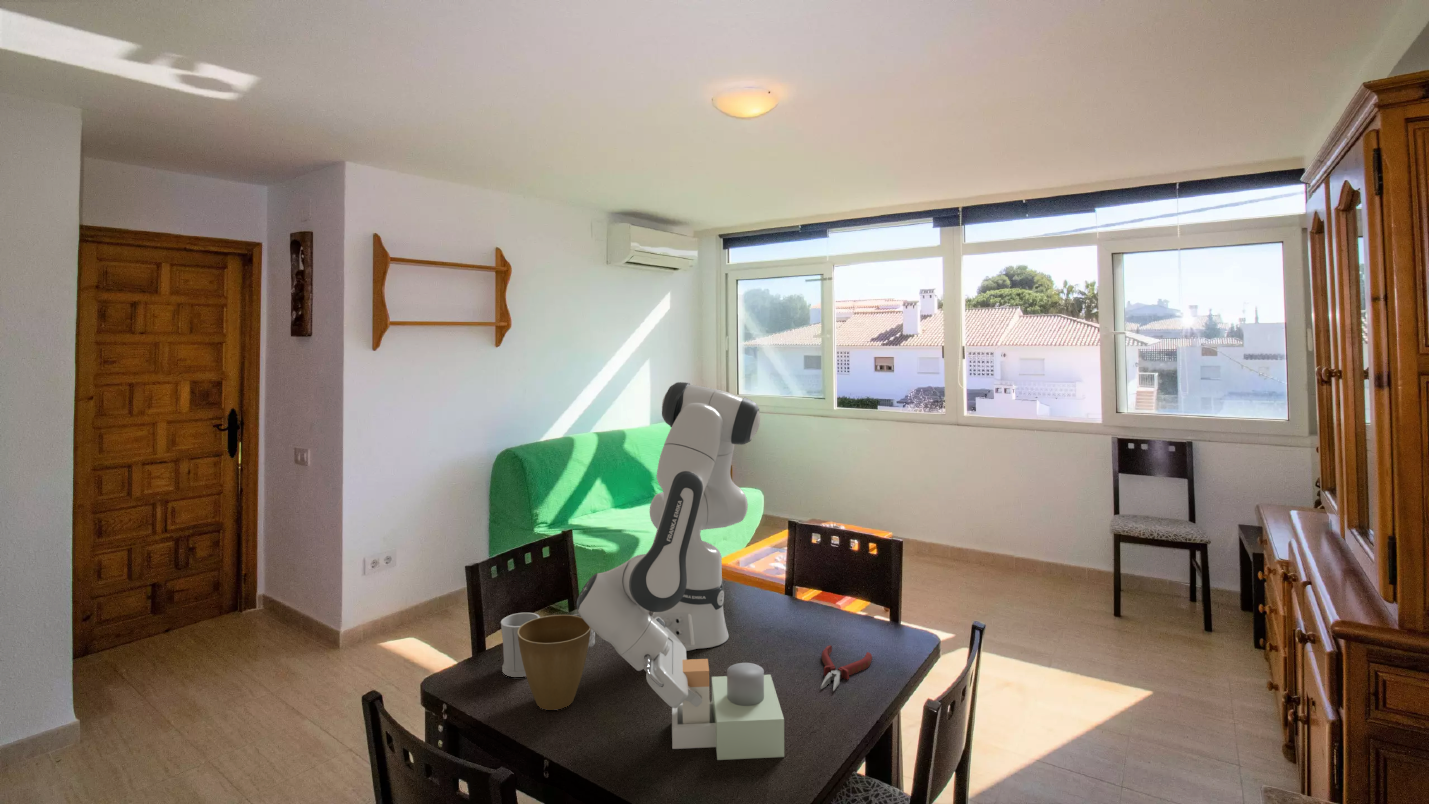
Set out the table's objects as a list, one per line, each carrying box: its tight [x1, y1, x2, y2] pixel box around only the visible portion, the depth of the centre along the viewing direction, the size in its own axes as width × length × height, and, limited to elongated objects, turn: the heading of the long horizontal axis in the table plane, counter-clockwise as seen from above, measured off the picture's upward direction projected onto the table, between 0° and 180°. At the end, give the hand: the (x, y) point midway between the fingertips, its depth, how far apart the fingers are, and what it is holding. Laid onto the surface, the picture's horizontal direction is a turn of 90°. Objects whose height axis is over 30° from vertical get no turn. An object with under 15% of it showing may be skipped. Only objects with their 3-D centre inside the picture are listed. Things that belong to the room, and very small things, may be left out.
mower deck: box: [671, 662, 785, 761], centre depth 127 cm, size 20×17×12 cm
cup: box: [500, 612, 541, 677], centre depth 154 cm, size 10×9×12 cm
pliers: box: [819, 645, 873, 692], centre depth 152 cm, size 12×20×3 cm, turn 155°
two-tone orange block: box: [682, 658, 711, 724], centre depth 127 cm, size 5×5×12 cm
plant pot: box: [517, 614, 591, 710], centre depth 140 cm, size 15×15×16 cm
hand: (699, 693), depth 127 cm, fingers closed on two-tone orange block, 5 cm apart
